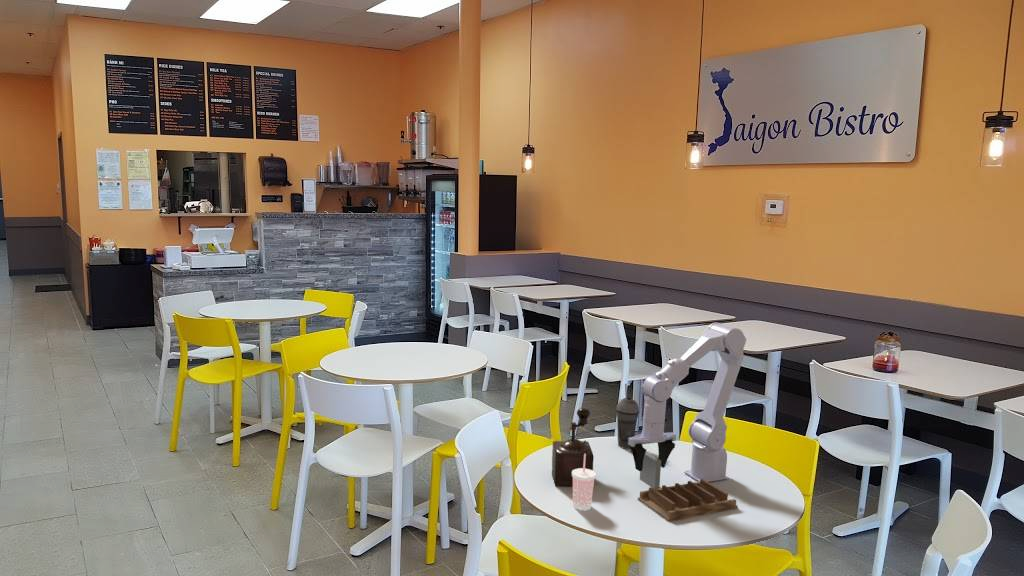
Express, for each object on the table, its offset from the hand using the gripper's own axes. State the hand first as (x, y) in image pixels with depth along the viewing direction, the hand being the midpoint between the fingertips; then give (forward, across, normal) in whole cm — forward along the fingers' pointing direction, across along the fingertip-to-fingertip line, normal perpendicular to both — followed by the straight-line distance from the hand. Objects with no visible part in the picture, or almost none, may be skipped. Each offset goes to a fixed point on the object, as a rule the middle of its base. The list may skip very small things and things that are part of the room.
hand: (650, 468), depth 197 cm
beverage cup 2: (+5, -10, -27) cm, 29 cm away
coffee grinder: (+5, +18, -12) cm, 22 cm away
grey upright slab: (+5, 0, 0) cm, 5 cm away
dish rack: (+4, -2, +14) cm, 15 cm away
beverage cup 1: (+5, +25, +6) cm, 26 cm away
